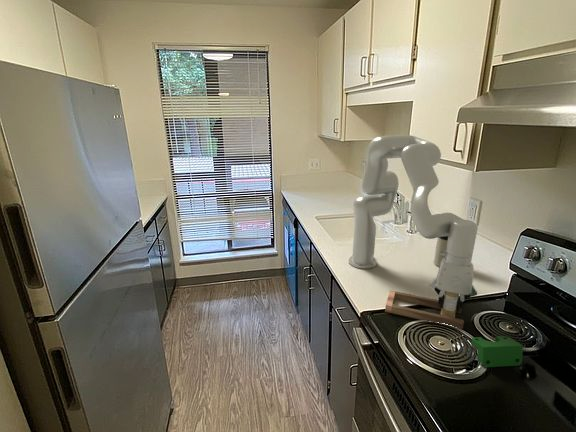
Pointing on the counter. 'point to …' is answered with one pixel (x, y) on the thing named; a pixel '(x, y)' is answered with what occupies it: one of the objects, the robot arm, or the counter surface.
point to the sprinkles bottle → (449, 304)
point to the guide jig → (417, 313)
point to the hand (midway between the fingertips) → (449, 307)
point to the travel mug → (440, 249)
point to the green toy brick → (498, 351)
